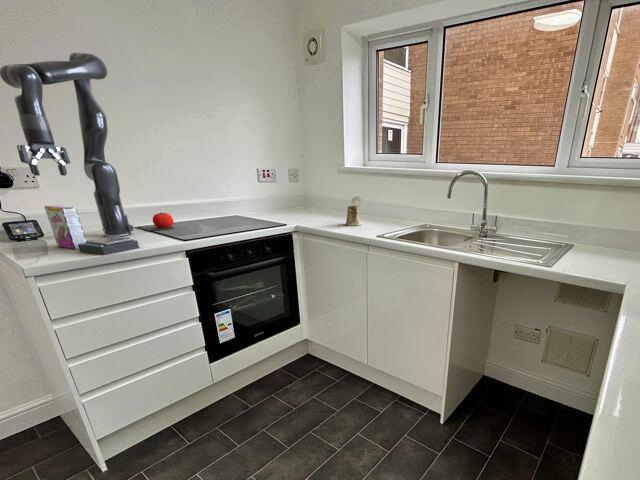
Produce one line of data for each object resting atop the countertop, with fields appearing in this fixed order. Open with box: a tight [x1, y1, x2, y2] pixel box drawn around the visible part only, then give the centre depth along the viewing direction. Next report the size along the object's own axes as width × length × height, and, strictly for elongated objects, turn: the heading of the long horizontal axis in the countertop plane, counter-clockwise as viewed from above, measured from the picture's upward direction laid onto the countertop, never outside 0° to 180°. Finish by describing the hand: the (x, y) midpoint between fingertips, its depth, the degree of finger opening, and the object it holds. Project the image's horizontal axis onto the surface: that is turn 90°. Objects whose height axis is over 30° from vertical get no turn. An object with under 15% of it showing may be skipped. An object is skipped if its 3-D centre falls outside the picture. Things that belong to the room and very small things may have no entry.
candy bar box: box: [44, 204, 87, 250], centre depth 141 cm, size 11×5×16 cm, turn 71°
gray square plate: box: [86, 236, 135, 245], centre depth 142 cm, size 11×11×1 cm
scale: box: [78, 239, 140, 256], centre depth 142 cm, size 14×13×3 cm
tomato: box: [151, 212, 175, 229], centre depth 186 cm, size 9×10×8 cm
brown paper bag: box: [345, 196, 362, 227], centre depth 213 cm, size 9×14×18 cm, turn 27°
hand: (50, 175), depth 134 cm, fingers open, 8 cm apart
